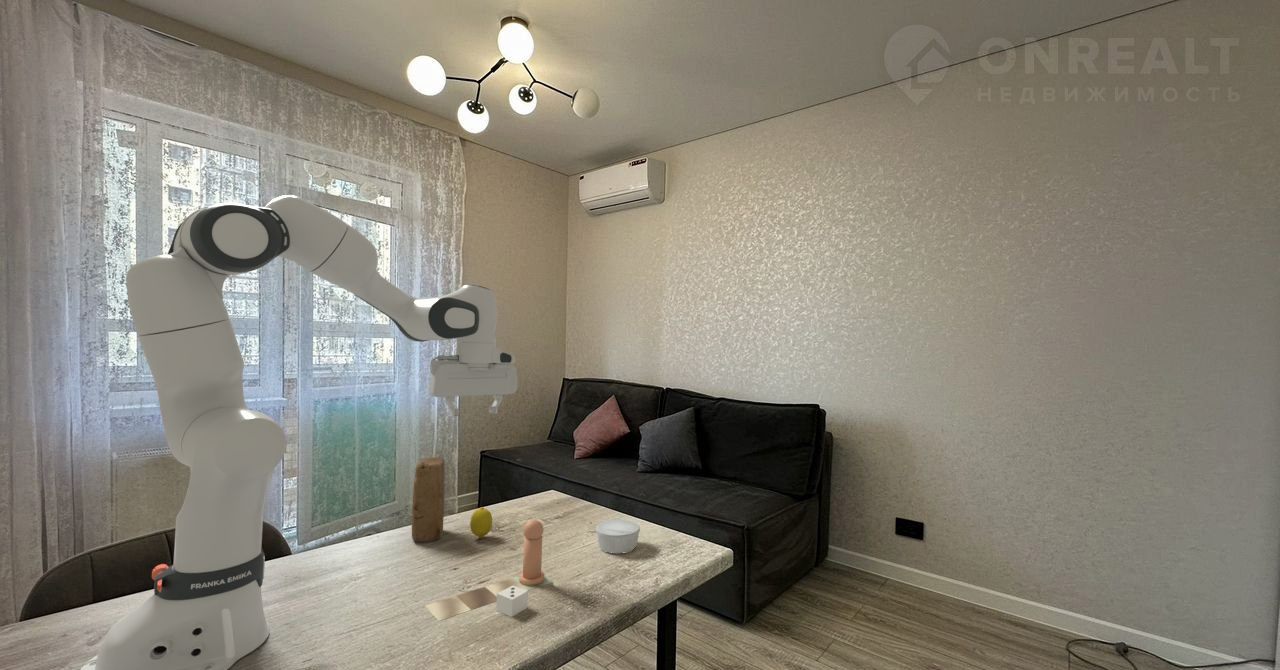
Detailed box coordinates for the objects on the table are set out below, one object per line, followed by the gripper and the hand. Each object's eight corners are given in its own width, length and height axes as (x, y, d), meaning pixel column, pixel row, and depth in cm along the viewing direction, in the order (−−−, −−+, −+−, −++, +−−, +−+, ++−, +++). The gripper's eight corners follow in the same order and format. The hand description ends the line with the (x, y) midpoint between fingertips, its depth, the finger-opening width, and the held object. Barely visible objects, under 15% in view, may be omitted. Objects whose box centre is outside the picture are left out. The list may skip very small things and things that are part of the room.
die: (511, 621, 92) (512, 599, 92) (496, 615, 94) (496, 593, 94) (527, 612, 95) (527, 590, 95) (512, 606, 97) (512, 585, 98)
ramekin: (599, 558, 121) (599, 536, 121) (592, 541, 132) (592, 520, 132) (644, 554, 124) (644, 533, 124) (633, 538, 135) (634, 518, 135)
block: (441, 542, 128) (444, 463, 129) (409, 545, 126) (412, 464, 127) (445, 527, 138) (447, 454, 139) (415, 529, 136) (418, 455, 137)
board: (438, 625, 90) (438, 620, 90) (424, 609, 95) (424, 605, 95) (553, 585, 106) (553, 581, 106) (535, 574, 111) (535, 570, 111)
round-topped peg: (527, 588, 103) (529, 526, 103) (514, 579, 107) (516, 519, 107) (549, 581, 106) (550, 520, 107) (536, 572, 110) (538, 514, 111)
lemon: (465, 538, 131) (466, 507, 131) (482, 532, 135) (483, 502, 136) (478, 543, 128) (479, 512, 128) (496, 537, 132) (497, 506, 133)
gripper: (436, 355, 108) (433, 419, 108) (521, 356, 122) (519, 413, 122) (425, 354, 113) (423, 416, 112) (508, 355, 127) (507, 410, 126)
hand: (474, 415), depth 117 cm, fingers open, 8 cm apart
